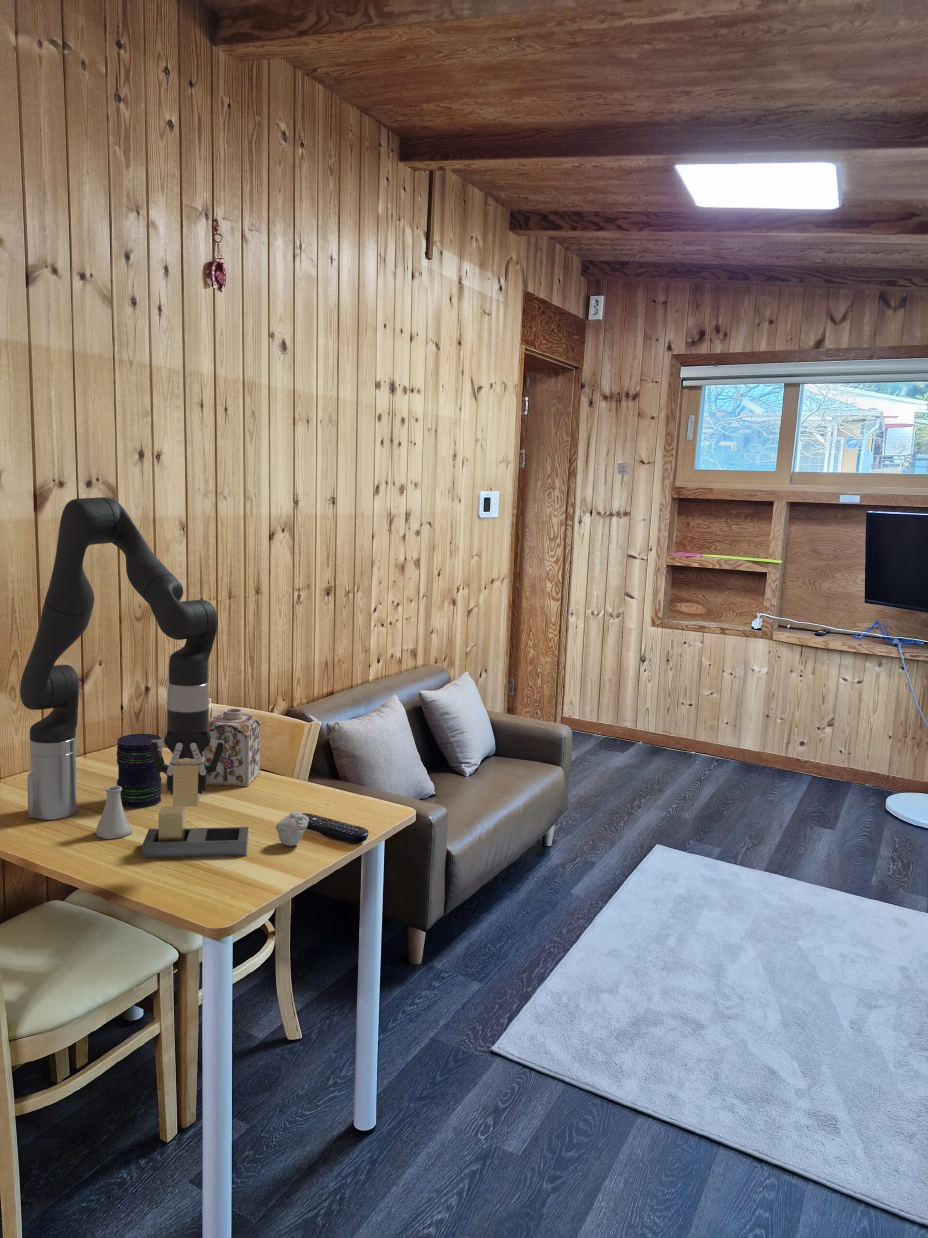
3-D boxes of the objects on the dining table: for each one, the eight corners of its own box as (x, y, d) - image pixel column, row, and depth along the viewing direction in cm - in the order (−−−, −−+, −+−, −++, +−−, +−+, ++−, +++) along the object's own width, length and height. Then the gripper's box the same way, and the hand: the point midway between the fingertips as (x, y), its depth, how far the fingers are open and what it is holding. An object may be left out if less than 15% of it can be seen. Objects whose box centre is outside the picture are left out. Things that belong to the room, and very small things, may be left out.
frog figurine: (312, 847, 187) (313, 815, 186) (280, 853, 184) (280, 820, 183) (302, 837, 192) (303, 806, 192) (270, 842, 189) (271, 810, 188)
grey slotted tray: (142, 858, 178) (142, 844, 177) (148, 843, 185) (149, 829, 185) (246, 855, 182) (246, 841, 181) (248, 840, 189) (248, 827, 189)
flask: (120, 824, 195) (120, 780, 194) (138, 833, 190) (138, 788, 189) (88, 833, 189) (88, 787, 188) (106, 842, 185) (106, 796, 183)
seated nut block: (158, 852, 180) (158, 813, 179) (161, 843, 184) (161, 806, 183) (181, 851, 181) (182, 813, 180) (184, 843, 185) (184, 805, 184)
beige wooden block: (172, 806, 169) (173, 765, 168) (175, 798, 174) (176, 758, 173) (197, 806, 170) (198, 765, 169) (199, 798, 175) (200, 758, 173)
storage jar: (132, 811, 203) (132, 747, 201) (108, 801, 209) (107, 739, 207) (170, 801, 211) (170, 739, 209) (145, 791, 217) (146, 731, 215)
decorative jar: (216, 770, 235) (217, 703, 233) (260, 773, 235) (262, 706, 232) (201, 785, 223) (202, 714, 221) (248, 788, 223) (249, 717, 221)
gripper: (145, 710, 164) (144, 800, 167) (225, 711, 167) (224, 799, 169) (151, 700, 172) (150, 786, 174) (228, 701, 174) (226, 786, 177)
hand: (186, 792), depth 172 cm, fingers closed on beige wooden block, 4 cm apart
